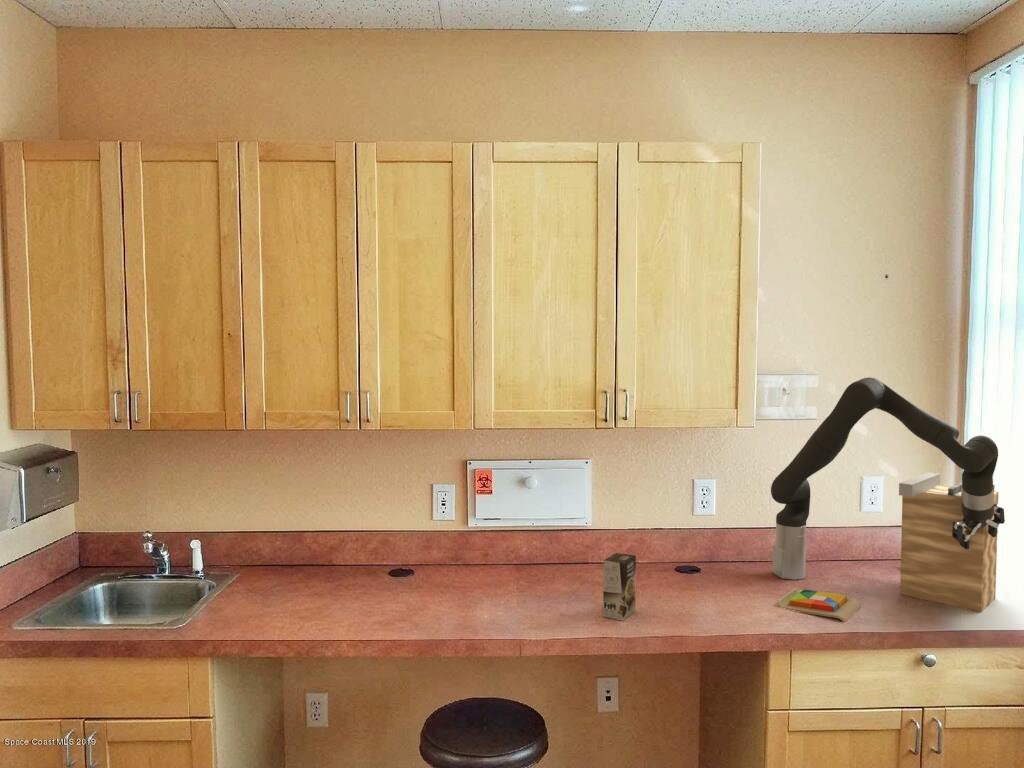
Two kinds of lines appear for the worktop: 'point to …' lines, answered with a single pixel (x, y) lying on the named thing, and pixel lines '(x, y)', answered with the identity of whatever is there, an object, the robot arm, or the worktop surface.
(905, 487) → the light gray bar
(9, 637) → the worktop surface
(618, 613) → the coffee box
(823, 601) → the wooden puzzle
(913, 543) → the maple block
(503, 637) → the worktop surface
